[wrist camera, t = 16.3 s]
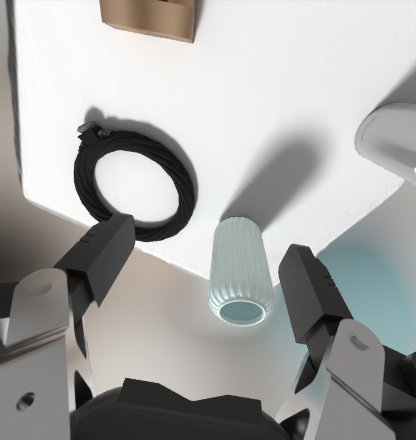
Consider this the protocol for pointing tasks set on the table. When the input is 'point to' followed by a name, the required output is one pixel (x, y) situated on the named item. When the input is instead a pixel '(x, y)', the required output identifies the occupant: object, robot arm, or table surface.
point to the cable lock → (130, 141)
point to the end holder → (152, 17)
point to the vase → (240, 274)
